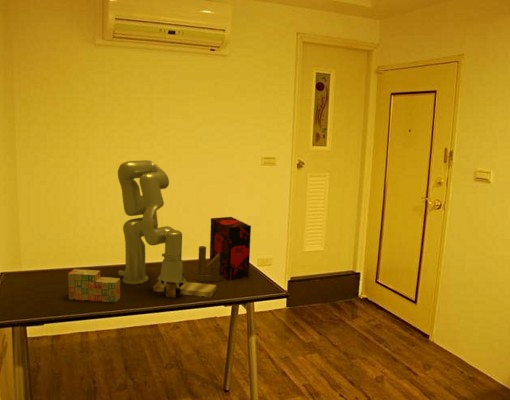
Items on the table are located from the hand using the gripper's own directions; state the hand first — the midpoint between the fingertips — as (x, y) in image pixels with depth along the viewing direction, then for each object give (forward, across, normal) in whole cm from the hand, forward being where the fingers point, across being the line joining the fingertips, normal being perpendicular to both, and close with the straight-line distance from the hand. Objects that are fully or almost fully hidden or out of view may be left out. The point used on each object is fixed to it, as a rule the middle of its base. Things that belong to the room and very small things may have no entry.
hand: (172, 294), depth 207 cm
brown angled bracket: (+1, +11, +23) cm, 26 cm away
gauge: (+1, 0, +5) cm, 5 cm away
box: (+1, +18, +39) cm, 43 cm away
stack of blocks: (+1, -32, -13) cm, 34 cm away
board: (0, +4, +7) cm, 8 cm away
